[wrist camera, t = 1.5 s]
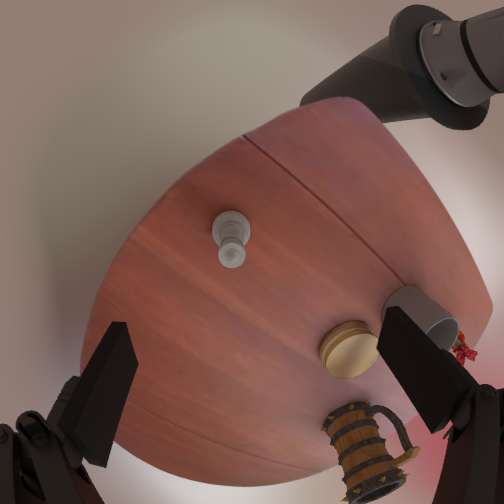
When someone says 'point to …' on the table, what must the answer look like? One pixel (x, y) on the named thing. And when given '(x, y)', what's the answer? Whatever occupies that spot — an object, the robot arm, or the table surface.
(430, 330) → the cup
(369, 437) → the mug
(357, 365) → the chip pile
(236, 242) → the chess piece
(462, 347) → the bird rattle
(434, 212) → the table surface
